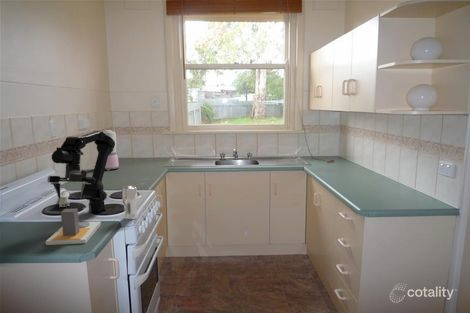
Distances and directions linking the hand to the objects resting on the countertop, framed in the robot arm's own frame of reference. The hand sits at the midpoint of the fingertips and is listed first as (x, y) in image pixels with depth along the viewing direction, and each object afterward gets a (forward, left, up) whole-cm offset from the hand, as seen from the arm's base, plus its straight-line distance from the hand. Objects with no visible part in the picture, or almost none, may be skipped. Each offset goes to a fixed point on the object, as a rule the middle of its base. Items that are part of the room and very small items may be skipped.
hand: (70, 198), depth 150 cm
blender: (-71, -103, -12) cm, 125 cm away
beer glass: (-22, +12, -12) cm, 28 cm away
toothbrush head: (-11, -38, -13) cm, 42 cm away
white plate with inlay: (+4, +13, -12) cm, 18 cm away
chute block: (+7, +15, -10) cm, 20 cm away
